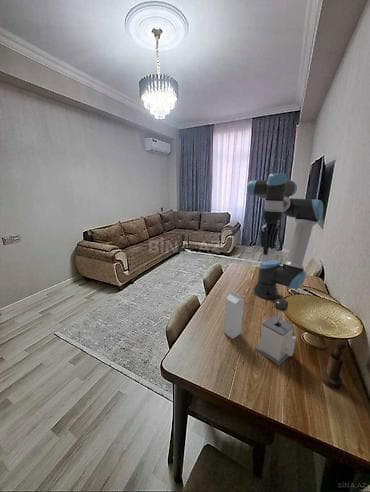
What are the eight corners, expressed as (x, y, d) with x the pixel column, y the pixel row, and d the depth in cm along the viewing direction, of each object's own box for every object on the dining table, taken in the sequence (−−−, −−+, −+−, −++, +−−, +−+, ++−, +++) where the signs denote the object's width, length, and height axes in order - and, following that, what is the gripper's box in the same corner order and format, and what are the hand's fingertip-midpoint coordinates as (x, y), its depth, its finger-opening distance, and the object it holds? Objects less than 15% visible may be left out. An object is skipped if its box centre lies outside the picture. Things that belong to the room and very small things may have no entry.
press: (268, 339, 99) (272, 313, 96) (296, 355, 90) (301, 328, 86) (255, 349, 93) (259, 323, 89) (284, 369, 83) (289, 339, 79)
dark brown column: (316, 373, 81) (325, 334, 76) (331, 372, 82) (342, 333, 77) (329, 389, 75) (340, 348, 70) (345, 388, 75) (358, 347, 70)
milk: (232, 339, 99) (236, 297, 93) (222, 332, 103) (225, 292, 97) (240, 334, 102) (244, 293, 96) (231, 327, 107) (234, 288, 101)
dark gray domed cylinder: (273, 324, 93) (278, 297, 89) (286, 331, 89) (292, 302, 85) (267, 330, 89) (271, 301, 85) (280, 337, 85) (285, 307, 81)
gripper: (272, 209, 99) (266, 256, 106) (256, 210, 92) (250, 261, 98) (288, 210, 94) (280, 260, 100) (272, 211, 86) (265, 265, 92)
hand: (265, 260), depth 99 cm, fingers closed
